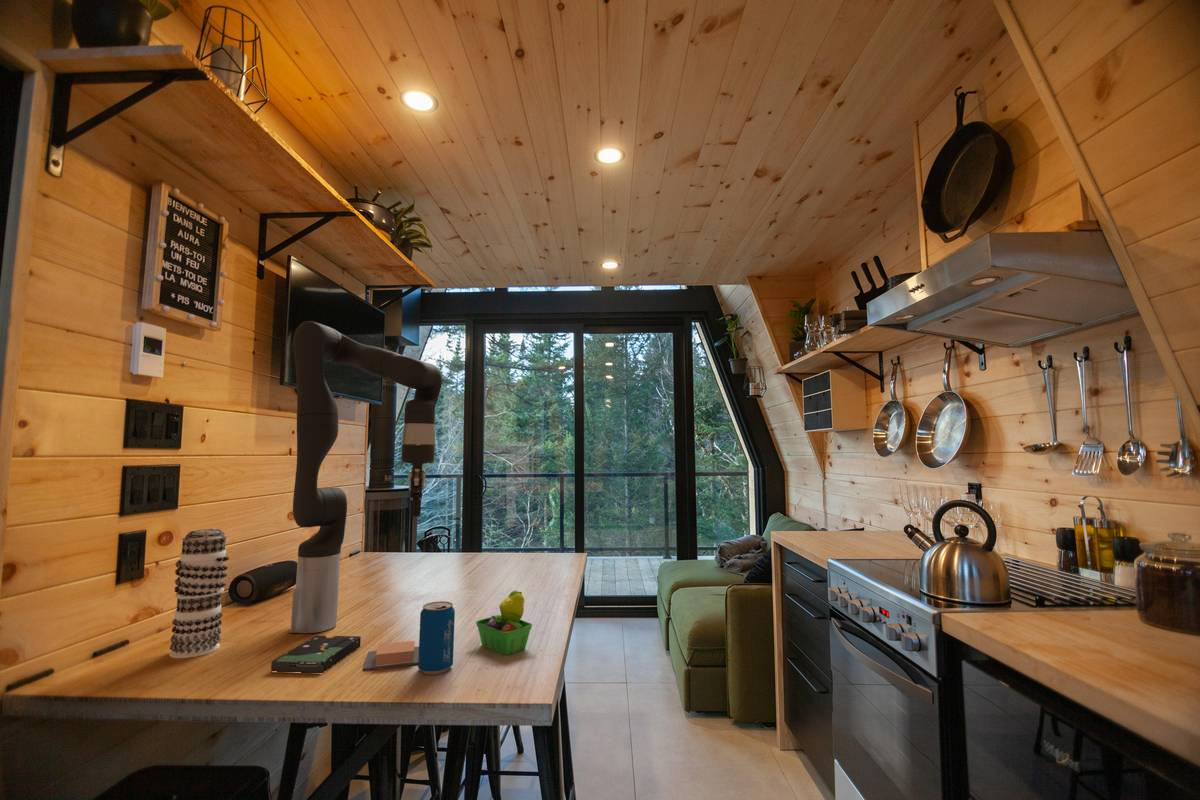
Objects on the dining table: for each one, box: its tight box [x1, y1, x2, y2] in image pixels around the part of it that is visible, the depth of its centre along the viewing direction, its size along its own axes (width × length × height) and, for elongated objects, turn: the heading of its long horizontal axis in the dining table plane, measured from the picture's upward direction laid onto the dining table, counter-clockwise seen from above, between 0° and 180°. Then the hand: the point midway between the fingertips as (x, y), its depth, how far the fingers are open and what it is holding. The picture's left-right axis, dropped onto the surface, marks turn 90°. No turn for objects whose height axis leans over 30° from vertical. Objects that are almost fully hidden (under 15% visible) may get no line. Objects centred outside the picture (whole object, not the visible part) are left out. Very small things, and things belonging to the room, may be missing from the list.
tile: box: [375, 640, 416, 667], centre depth 105 cm, size 7×2×6 cm
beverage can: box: [417, 600, 456, 675], centre depth 102 cm, size 6×6×12 cm
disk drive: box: [270, 635, 362, 674], centre depth 106 cm, size 10×3×15 cm
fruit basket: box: [475, 590, 533, 656], centre depth 114 cm, size 11×9×11 cm
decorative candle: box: [168, 528, 230, 659], centre depth 111 cm, size 9×9×25 cm
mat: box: [362, 646, 419, 671], centre depth 106 cm, size 11×9×1 cm
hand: (415, 516), depth 124 cm, fingers closed
